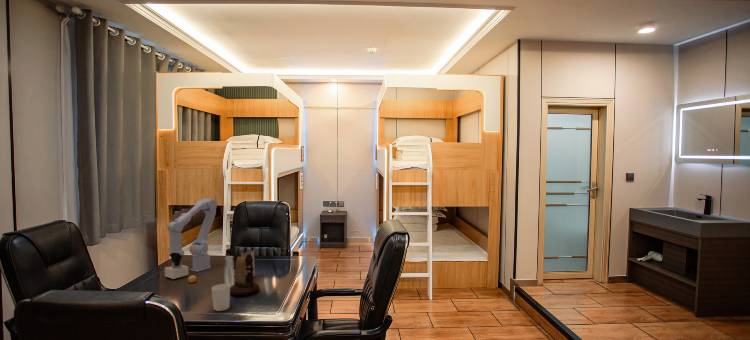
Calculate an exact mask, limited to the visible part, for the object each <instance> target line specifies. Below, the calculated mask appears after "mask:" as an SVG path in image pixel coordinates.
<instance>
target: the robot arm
mask: <svg viewBox="0 0 750 340" xmlns="http://www.w3.org/2000/svg"><path fill="white" fill-rule="evenodd" d="M217 207H218V202H217V200H216V199H215V198H204V197H203V198H200V199H199V200H198V201H197V202H196V204H194V206H193V207H192V208H191V209H190V210H188V211H187V212H183V213H181V214H180V216H179V217H177V218H175V219H174V221H171V222H169V223H168V224H167V227H166V229H167V231H168V234H169V244H170V246H169V247H170V248H168V249H167V252H168V253H169V257H170V258H171V261H172V263H173V262H175V266H179V265H180V261H181V260H182V257H183V256H184V255H185V250H183V248H182V247H183V246H182V231H183V229H184V227H185V226H186V225H187V224H188V223H189V222H190V221H191V220H192V217H194V216H195V215H196V214H197V213H199V212H200V211H201V210H202V211H203V213H204V214H205V215H204V218H203V221H202V224H201V227H200V230H199V232H198V235H197V238H196V239H195V240H194V241H193V242H192V244H191V245H190V246H189V252H190V253H191V256H192V268H190V269H189V270H190V271H193V272H197V273H198V272H201V271H204V270H208V269H211V268H212V266H211V257H210V254H209V253H208V251H209V242H208V241H207V240H208V237H209V235H210V231H211V229H212V226H213V223H214V220H215V216H216V214H217ZM181 262H182V261H181Z"/></svg>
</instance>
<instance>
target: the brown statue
mask: <svg viewBox="0 0 750 340" xmlns="http://www.w3.org/2000/svg"><path fill="white" fill-rule="evenodd" d="M241 254H242V253H240V252H239V253H236V254H235V255H234V257H233V263H234V264H233V267H232V268H233V269H232V270H234V275H233V278H234V281H233V282H234V284H233V285H230V296H231V295H234V296H238V295H239V296H241V295H242V296H243V295H245V297H246V298H247V297H248V295H249V294H253V293H255V292H257V291H259V290H260V285H259V283H257V282H254V279H255V278H254V277H255V276H254V277H253V270H254V268H253V264H252V263H253V262H252V261H253V259H252V256H251V254H248V255H247V256H246V257H241ZM249 266H250V268H249ZM246 267H248V268H246ZM246 270H249V271H250V272H249V273H248V274H247V276H245V271H246Z"/></svg>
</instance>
